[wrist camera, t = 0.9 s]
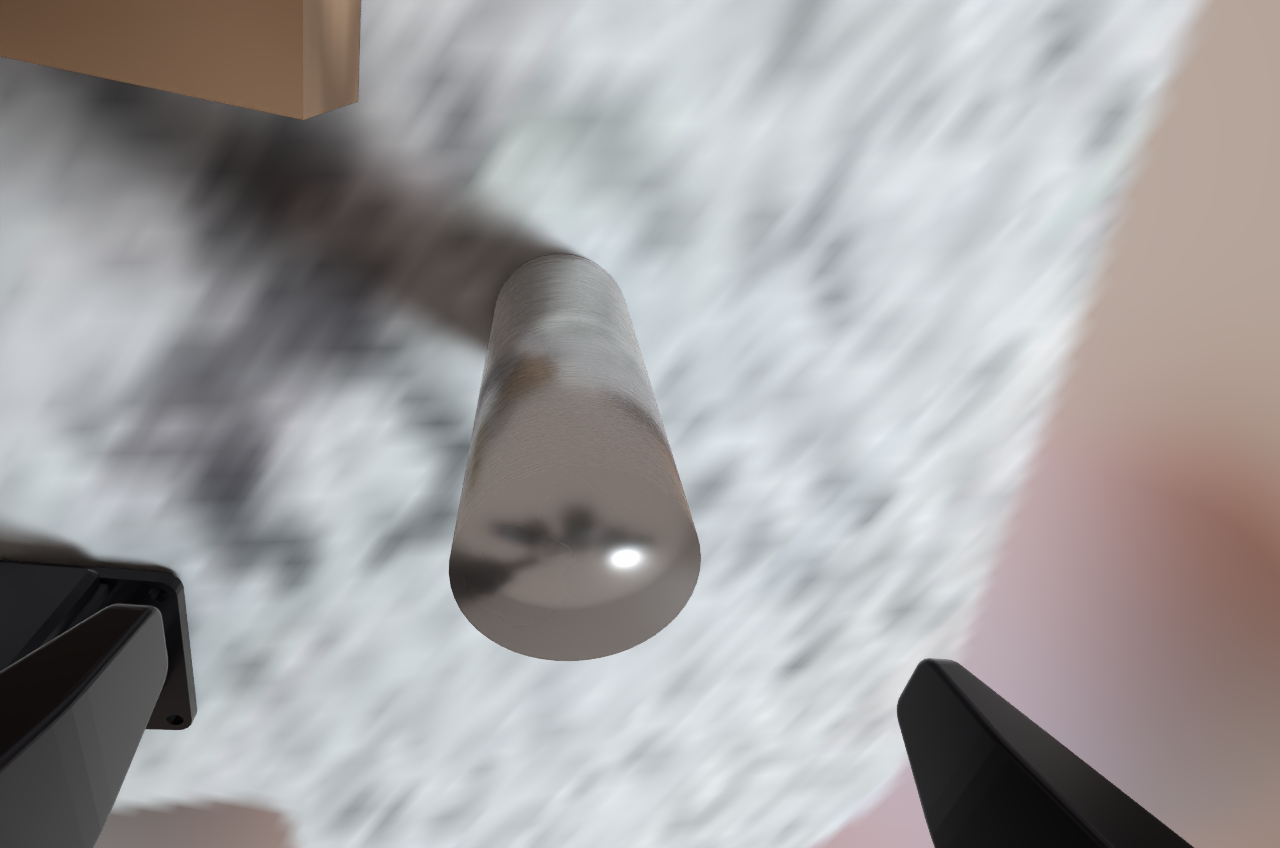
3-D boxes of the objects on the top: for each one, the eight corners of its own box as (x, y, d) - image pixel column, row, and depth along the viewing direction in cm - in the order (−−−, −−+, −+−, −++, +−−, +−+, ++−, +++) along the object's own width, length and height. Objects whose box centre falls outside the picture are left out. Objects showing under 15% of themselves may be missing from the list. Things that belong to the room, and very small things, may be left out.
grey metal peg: (613, 387, 19) (668, 667, 11) (487, 368, 19) (438, 653, 10) (639, 267, 18) (729, 483, 9) (503, 242, 17) (462, 450, 8)
